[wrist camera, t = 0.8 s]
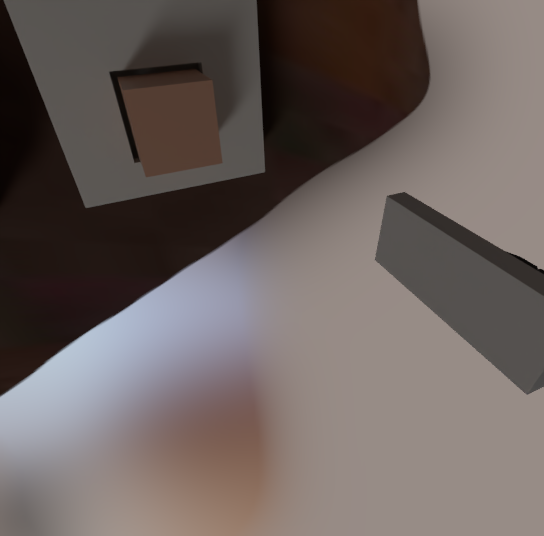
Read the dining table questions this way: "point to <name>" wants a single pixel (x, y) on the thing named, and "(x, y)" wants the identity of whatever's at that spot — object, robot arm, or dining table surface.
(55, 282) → the dining table surface
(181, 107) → the terracotta key
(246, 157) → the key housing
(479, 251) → the robot arm
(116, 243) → the dining table surface
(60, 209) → the dining table surface
